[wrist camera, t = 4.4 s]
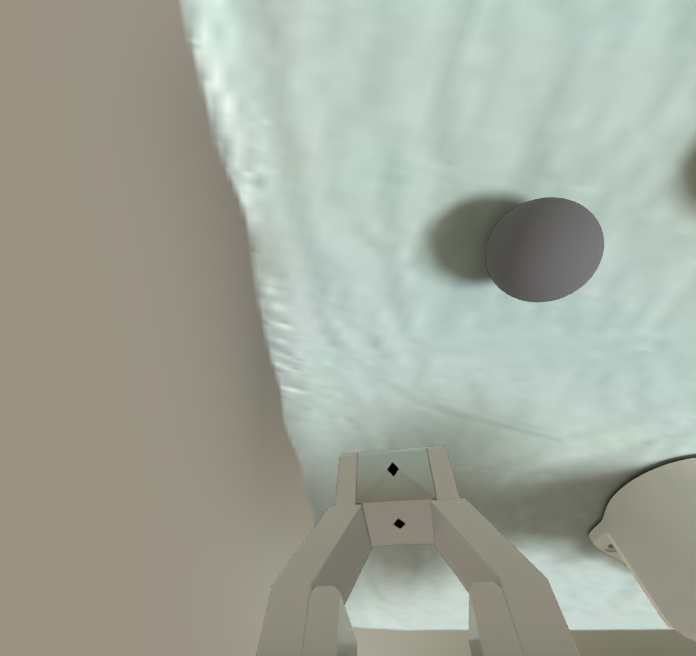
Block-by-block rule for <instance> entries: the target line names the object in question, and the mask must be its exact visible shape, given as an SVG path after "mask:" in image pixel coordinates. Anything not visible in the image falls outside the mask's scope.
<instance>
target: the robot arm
mask: <svg viewBox="0 0 696 656" xmlns="http://www.w3.org/2000/svg"><path fill="white" fill-rule="evenodd" d="M589 538H590V540H591V541H592V543H593V544H594V545H595V547H597V548H598V549H600V550H601V551H603V552H605V553H606V554H608V555H610V556H612V557H613V558H615V559H617V560H618V561H620V562H622V563H623V564H625V565H627V567H628V568H629V570H630V572H631V573H632V575H633V576H634V578H635V579H636V581H637V582H638V584H639V585H640V587H641V588H642V590H643V591H644V593H645V594H646V596H647V597H648V599H649V600H650V602H651V603H652V605H653V606H654V608H655V609H656V611H657V612H658V614H659V615H660V617H661V618H662V620H663V621H664V622H665V623H666V625H667V626H668V627H670V628H674V629H675V630H677V631H678V632H679V633H680V634H682V635H683V636H686V637H688V638H690V639H692V640H693V641H695V642H696V458H690V459H685V460H680V461H677V462H673V463H669V464H666V465H663V466H660V467H658V468H655V469H653V470H651V471H648V472H646V473H644V474H642V475H640V476H638V477H637V478H635V479H633V480H632V481H630V482H629V483H627V484H626V485H625V486H624V487H622V488H621V489H620V490H619V491H618V492H617V493H616V494H615V495H614V496H613V497H612V499H611V500H610V502H609V503H608V505H607V507H606V510H605V514H604V517H603V519H602V521H601V522H600V523H599V524H598V525H597V526H596V527H595V528H594V529H593V530H592V531H591V532H590V534H589ZM402 543H403V544H435V547H436V548H437V549H438V551H439V552H440V554H441V555H442V556H443V558H444V559H445V561H446V562H447V563H448V565H449V566H450V568H451V569H452V570H453V572H454V573H455V575H456V576H457V577H458V579H459V580H460V582H461V583H462V584H463V586H464V587H465V589H466V590H467V591H468V593H469V645H470V649H471V655H472V656H580V654H579V652H578V650H577V647H576V645H575V642H574V640H573V638H572V635H571V633H570V631H569V628H568V626H567V624H566V621H565V619H564V617H563V614H562V612H561V610H560V607H559V605H558V602H557V600H556V598H555V595H554V593H553V591H552V588H551V586H550V584H549V581H548V579H547V578H546V577H545V576H544V575H543V574H542V573H541V572H540V571H539V570H538V569H537V568H536V567H535V566H534V565H533V564H532V563H531V562H530V561H529V560H528V559H527V558H526V557H525V556H524V555H523V554H522V553H521V552H520V551H519V550H518V549H517V548H516V547H515V546H513V545H512V544H511V543H510V542H509V541H508V540H507V539H506V538H505V537H504V536H503V535H502V534H501V533H500V532H499V531H498V530H497V529H496V528H495V527H494V526H493V525H492V524H491V523H490V522H489V521H488V520H487V519H486V518H485V517H484V516H483V515H482V514H481V513H480V512H479V511H478V510H477V509H476V508H475V507H474V506H473V505H472V504H471V503H470V502H469V501H468V500H467V499H466V498H459V495H458V491H457V487H456V484H455V480H454V476H453V473H452V469H451V465H450V462H449V458H448V454H447V451H446V448H445V446H444V445H442V446H430V447H416V448H405V449H394V450H387V451H368V452H353V453H341V455H340V458H339V468H338V479H337V490H336V501H335V506H330V507H329V508H328V509H327V511H326V512H325V514H324V515H323V516H322V518H321V519H320V520H319V522H318V523H317V524H316V526H315V527H314V529H313V530H312V531H311V533H310V534H309V535H308V537H307V538H306V540H305V541H304V542H303V544H302V545H301V546H300V548H299V549H298V550H297V552H296V553H295V554H294V556H293V557H292V559H291V560H290V561H289V563H288V564H287V565H286V567H285V568H284V569H283V571H282V572H281V573H280V575H279V576H278V578H277V579H276V580H275V582H274V583H273V584H272V586H271V590H270V595H269V599H268V604H267V608H266V612H265V617H264V621H263V626H262V631H261V635H260V639H259V643H258V648H257V652H256V656H357V640H356V638H355V635H354V632H353V629H352V626H351V623H350V620H349V617H348V614H347V611H346V609H345V606H344V605H345V603H346V601H347V599H348V597H349V595H350V593H351V591H352V589H353V587H354V585H355V582H356V580H357V578H358V576H359V574H360V572H361V570H362V568H363V566H364V564H365V562H366V560H367V558H368V556H369V553H370V551H371V549H372V548H371V546H385V545H399V544H402Z"/></svg>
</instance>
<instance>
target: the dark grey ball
mask: <svg viewBox="0 0 696 656" xmlns="http://www.w3.org/2000/svg"><path fill="white" fill-rule="evenodd" d="M603 250H604V238H603V233H602V229H601V226H600V224H599V222H598V221H597V219H596V218H595V217H594V215H593V214H592V213H591V212H590V211H589V210H588V209H586V208H585V207H583V206H582V205H580V204H578V203H576V202H574V201H571V200H568V199H564V198H554V197H550V198H540V199H535V200H532V201H528V202H526V203H523V204H521V205H519V206H518V207H516V208H514V209H512V210H511V211H510V212H508V213H507V214H506V215H505V216H504V217H503V218H502V219H501V220H500V221H499V222H498V223H497V224H496V226H495V227H494V229H493V230H492V232H491V234H490V236H489V239H488V242H487V246H486V252H485V260H486V266H487V269H488V272H489V275H490V277H491V278H492V280H493V281H494V283H495V284H496V285H497V286H498V287H499V288H500V289H501V290H502V291H504V292H505V293H506V294H508V295H510V296H512V297H514V298H517V299H519V300H523V301H528V302H547V301H553V300H557V299H560V298H563V297H565V296H567V295H569V294H571V293H573V292H575V291H576V290H578V289H579V288H581V287H582V286H583V285H584V284H585V283H586V282H587V281H588V280H589V279H590V278H591V277H592V276H593V274H594V273H595V271H596V270H597V268H598V266H599V264H600V261H601V258H602V255H603Z"/></svg>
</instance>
